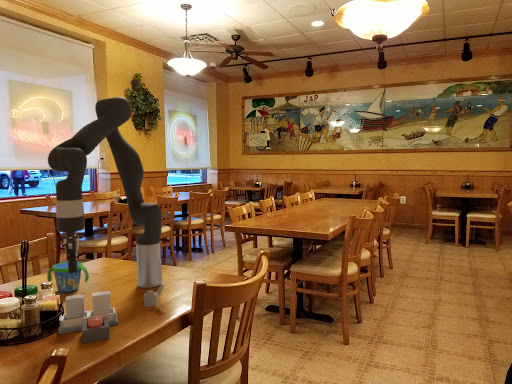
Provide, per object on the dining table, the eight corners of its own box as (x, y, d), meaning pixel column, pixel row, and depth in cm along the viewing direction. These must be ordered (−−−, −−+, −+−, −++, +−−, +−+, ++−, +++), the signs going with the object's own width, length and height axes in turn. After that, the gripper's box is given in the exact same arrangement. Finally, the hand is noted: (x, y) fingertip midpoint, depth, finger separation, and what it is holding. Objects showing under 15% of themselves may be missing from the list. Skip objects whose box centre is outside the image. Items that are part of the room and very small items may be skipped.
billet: (85, 319, 120) (84, 294, 120) (85, 322, 117) (83, 297, 117) (67, 321, 118) (66, 296, 118) (66, 325, 116) (65, 299, 115)
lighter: (144, 306, 133) (143, 284, 132) (145, 305, 134) (144, 282, 134) (165, 305, 133) (164, 283, 133) (165, 303, 135) (165, 281, 134)
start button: (103, 323, 113) (102, 315, 113) (103, 328, 110) (103, 320, 109) (88, 325, 112) (88, 317, 112) (88, 331, 108) (87, 322, 108)
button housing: (108, 328, 115) (108, 317, 115) (109, 338, 109) (109, 326, 109) (83, 332, 113) (82, 321, 113) (82, 343, 106) (81, 331, 106)
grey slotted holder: (116, 313, 127) (115, 287, 126) (117, 324, 118) (116, 296, 118) (61, 322, 120) (59, 294, 120) (58, 334, 112) (56, 304, 111)
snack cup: (94, 286, 154) (93, 261, 154) (78, 295, 144) (77, 269, 143) (59, 284, 157) (58, 260, 156) (41, 293, 146) (39, 267, 146)
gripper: (83, 217, 110) (86, 276, 111) (84, 211, 123) (87, 264, 124) (53, 218, 107) (57, 279, 109) (58, 212, 120) (61, 266, 122)
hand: (73, 270), depth 116 cm, fingers open, 3 cm apart
